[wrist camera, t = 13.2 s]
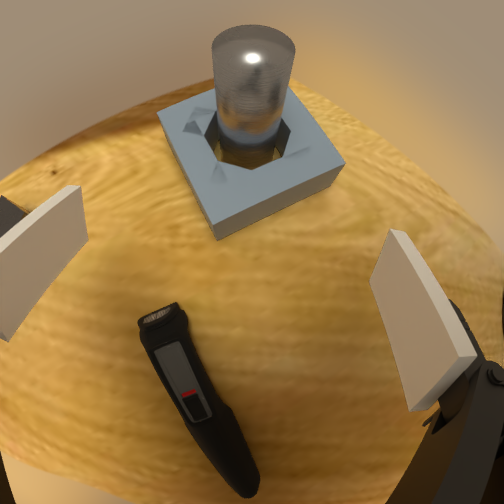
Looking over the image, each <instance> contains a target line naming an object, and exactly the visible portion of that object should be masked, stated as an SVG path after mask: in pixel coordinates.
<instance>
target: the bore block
mask: <svg viewBox="0 0 504 504" xmlns="http://www.w3.org/2000/svg"><path fill="white" fill-rule="evenodd" d="M157 114H158V117H159V120H160V123H161V125H162V128H163V131H164V133H165V136H166V139H167V141H168V143H169V145H170V147H171V149H172V152H173V154H174V156H175V158H176V160H177V162H178V164H179V166H180V168H181V170H182V172H183V174H184V176H185V178H186V180H187V182H188V184H189V186H190V188H191V190H192V192H193V194H194V196H195V198H196V200H197V202H198V204H199V206H200V208H201V210H202V212H203V214H204V216H205V218H206V220H207V222H208V224H209V226H210V228H211V230H212V232H213V234H214V236H215V238H216V240H217V241H218V240H220V239H222V238H224V237H226V236H228V235H230V234H232V233H234V232H236V231H238V230H240V229H242V228H244V227H246V226H248V225H250V224H252V223H254V222H256V221H259V220H261V219H263V218H265V217H267V216H269V215H271V214H273V213H275V212H277V211H279V210H281V209H283V208H285V207H287V206H289V205H292V204H294V203H296V202H298V201H300V200H302V199H304V198H306V197H308V196H310V195H312V194H315V193H317V192H319V191H321V190H323V189H325V188H327V187H329V186H331V184H332V183H333V181H334V180H335V178H336V177H337V175H338V174H339V172H340V171H341V170H342V168H343V167H344V165H345V164H346V163H345V161H344V160H343V158H342V157H341V155H340V154H339V153H338V151H337V150H336V148H335V147H334V145H333V144H332V143H331V141H330V140H329V138H328V137H327V136H326V134H325V133H324V131H323V130H322V129H321V127H320V126H319V125H318V123H317V122H316V121H315V119H314V118H313V117H312V115H311V114H310V113H309V111H308V110H307V109H306V108H305V106H304V105H303V104H302V102H301V101H300V100H299V99H298V97H297V96H296V95H295V94H294V92H293V91H292V90H291V89H290V88H289V86H288V88H287V93H286V98H285V102H284V107H283V112H282V116H281V121H280V126H279V130H278V135H277V139H276V144H275V146H276V148H277V149H278V151H279V152H280V154H281V155H282V158H279V159H277V160H274V161H272V162H270V163H267V164H265V165H263V166H260V167H258V168H256V169H254V170H249V169H245V168H242V167H238V166H235V165H231V164H227V163H224V162H220V161H218V160H217V158H216V156H215V155H214V153H213V151H214V149H215V146H216V144H217V142H218V140H220V139H219V129H218V118H217V107H216V95H215V89H212V90H209V91H207V92H204V93H201V94H199V95H196V96H194V97H191V98H189V99H186V100H184V101H182V102H179V103H177V104H175V105H172V106H170V107H168V108H165V109H163V110H161V111H159V112H157Z"/></svg>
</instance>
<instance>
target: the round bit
mask: <svg viewBox="0 0 504 504" xmlns="http://www.w3.org/2000/svg"><path fill="white" fill-rule="evenodd" d="M294 55H295V46H294V43H293V42H292V40H291V39H290V38H289V37H288V36H286V35H285V34H284V33H282V32H280V31H279V30H276V29H274V28H270V27H267V26H262V25H241V26H236V27H232V28H229V29H227V30H225V31H223V32H222V33H220V34H219V35H218V36H217V37H216V38H215V39H214V41H213V43H212V59H213V71H214V84H215V95H216V107H217V118H218V129H219V139H220V150H221V160H222V162H224V163H227V164H231V165H235V166H238V167H242V168H245V169H249V170H254V169H256V168H258V167H260V166H263V165H265V164H267V163H270V162H272V158H273V153H274V149H275V144H276V139H277V135H278V130H279V126H280V121H281V116H282V112H283V107H284V102H285V98H286V93H287V88H288V84H289V79H290V74H291V69H292V65H293V60H294Z"/></svg>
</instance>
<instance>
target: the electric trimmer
mask: <svg viewBox="0 0 504 504" xmlns="http://www.w3.org/2000/svg"><path fill="white" fill-rule="evenodd" d="M138 326H139V328H140V340H141V342H142V344H143V346H144V348H145V350H146V352H147V354H148V356H149V358H150V360H151V362H152V364H153V366H154V368H155V370H156V372H157V374H158V376H159V378H160V379H161V381H162V383H163V385H164V387H165V388H166V390H167V392H168V394H169V395H170V397H171V399H172V400H173V402H174V404H175V405H176V407H177V409H178V411H179V412H180V414H181V416H182V418H183V420H184V422H185V425H186V426H187V428H188V430H189V432H190V433H191V435H192V436H193V438H194V439H195V441H196V442H197V444H198V445H199V446H200V448H201V449H202V451H203V452H204V453H205V455H206V456H207V457H208V459H209V460H210V461H211V463H212V464H213V465H214V467H215V468H216V469H217V471H218V472H219V473H220V475H221V476H222V477H223V478H224V480H225V481H226V482H227V483H228V485H229V486H230V487H231V488H232V489H233V490H234V491H235V492H236V493H238V494H239V495H240V496H241V497H243V498H248V499H249V498H252V497H253V496H254V495H256V494H257V491H258V488H259V483H260V475H259V472H258V469H257V467H256V464H255V462H254V460H253V458H252V455H251V453H250V451H249V448H248V446H247V444H246V441H245V439H244V437H243V434H242V432H241V430H240V427H239V425H238V423H237V420H236V418H235V416H234V414H233V412H232V410H231V409H230V407H228V406H227V405H226V404H224V403H223V402H222V400H221V399H220V398H219V397H218V395H217V394H216V392H215V390H214V388H213V386H212V384H211V382H210V380H209V378H208V376H207V374H206V372H205V370H204V368H203V366H202V364H201V361H200V359H199V357H198V355H197V353H196V350H195V348H194V346H193V343H192V341H191V338H190V336H189V333H188V323H187V316H186V314H185V312H184V310H181V309H180V308H179V306H178V304H177V302H175V303H172V304H170V305H168V306H166V307H163V308H161V309H159V310H157V311H154V312H152V313H150V314H148V315H145V316H143V317H141V318H140V319H139V320H138Z"/></svg>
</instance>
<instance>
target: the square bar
mask: <svg viewBox="0 0 504 504" xmlns="http://www.w3.org/2000/svg"><path fill="white" fill-rule="evenodd" d="M28 214H30V212H28V211H27V210H25V209H24V208H22V207H21V206H19V205H17V204H15V203H14V202H12V201H10V200H9V199H7V198H6V197H4V196H2V195H1V197H0V238H1V237H2V236H3V235H4V234H6V233H7V232H8V231H9V230H10V229H11V228H13V227H14V226H15V225H16V224H17V223H19V222H20V221H21V220H22V219H23V218H25V217H26V216H27V215H28Z"/></svg>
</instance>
